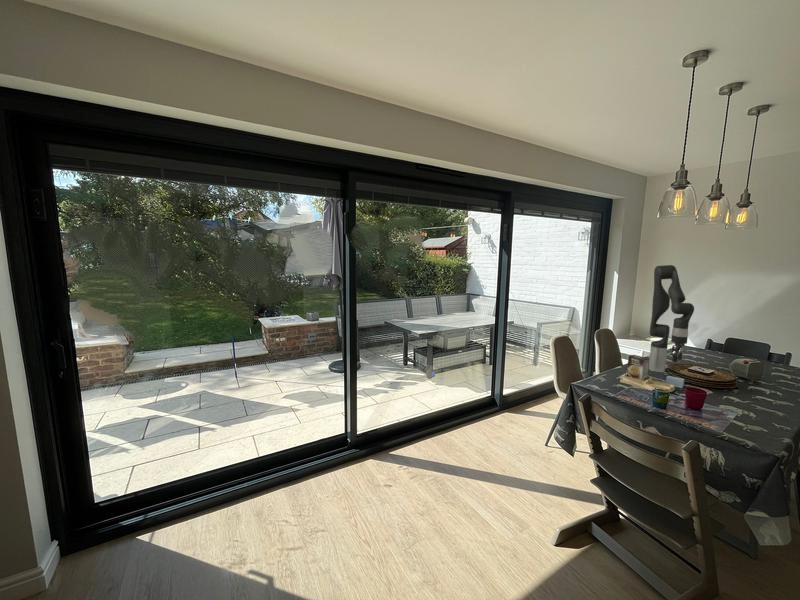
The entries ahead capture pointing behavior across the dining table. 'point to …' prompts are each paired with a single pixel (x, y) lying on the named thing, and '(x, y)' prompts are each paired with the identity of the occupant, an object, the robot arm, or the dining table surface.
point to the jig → (647, 383)
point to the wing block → (675, 381)
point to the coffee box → (637, 367)
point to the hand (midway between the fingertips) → (676, 360)
